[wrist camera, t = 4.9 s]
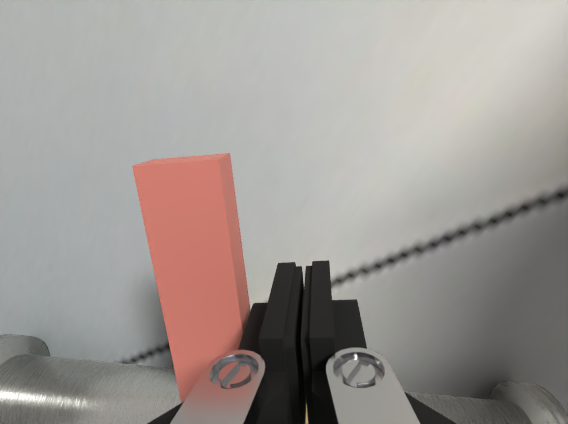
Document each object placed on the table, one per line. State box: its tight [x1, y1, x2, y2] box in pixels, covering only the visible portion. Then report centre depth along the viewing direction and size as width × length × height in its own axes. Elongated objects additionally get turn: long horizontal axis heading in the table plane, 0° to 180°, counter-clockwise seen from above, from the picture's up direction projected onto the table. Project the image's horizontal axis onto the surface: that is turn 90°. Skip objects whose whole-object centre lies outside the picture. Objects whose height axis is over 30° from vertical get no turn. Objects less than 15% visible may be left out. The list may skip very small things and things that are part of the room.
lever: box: [132, 153, 250, 403], centre depth 12 cm, size 17×4×2 cm, turn 5°
